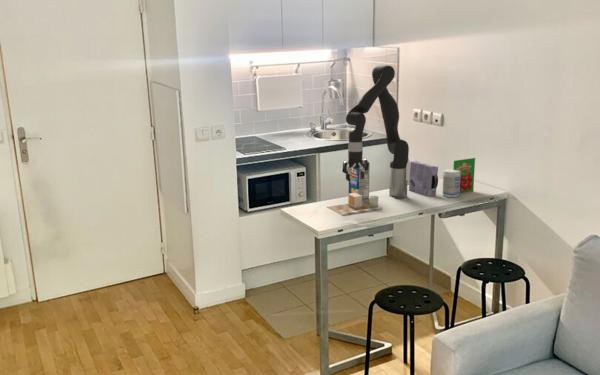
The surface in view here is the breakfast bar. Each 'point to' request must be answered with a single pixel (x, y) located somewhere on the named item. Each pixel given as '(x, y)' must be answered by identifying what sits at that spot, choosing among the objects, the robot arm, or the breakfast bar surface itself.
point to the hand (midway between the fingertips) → (355, 179)
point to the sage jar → (373, 201)
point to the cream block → (355, 200)
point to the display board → (353, 208)
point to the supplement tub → (451, 183)
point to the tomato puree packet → (466, 174)
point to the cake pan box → (423, 178)
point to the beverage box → (359, 183)
